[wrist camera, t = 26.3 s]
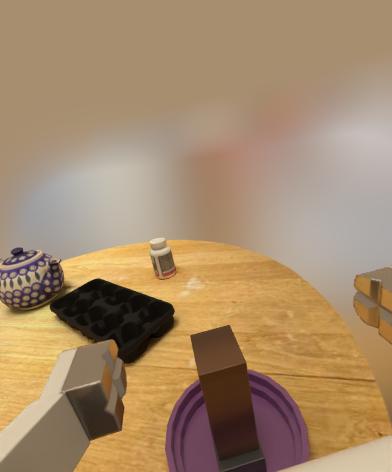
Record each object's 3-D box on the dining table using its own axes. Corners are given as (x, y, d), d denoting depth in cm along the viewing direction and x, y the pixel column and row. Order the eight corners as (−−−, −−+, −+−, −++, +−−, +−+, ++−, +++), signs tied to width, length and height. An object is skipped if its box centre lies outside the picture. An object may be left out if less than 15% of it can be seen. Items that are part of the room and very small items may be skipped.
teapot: (-18, 312, 66) (-47, 262, 61) (33, 281, 79) (13, 237, 74) (48, 322, 56) (20, 262, 51) (95, 284, 69) (76, 234, 64)
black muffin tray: (141, 373, 38) (134, 354, 37) (28, 335, 53) (21, 321, 51) (193, 303, 53) (190, 288, 51) (93, 288, 67) (89, 276, 66)
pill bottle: (178, 268, 69) (170, 235, 65) (172, 279, 64) (163, 243, 61) (160, 269, 70) (151, 237, 67) (153, 280, 65) (143, 245, 62)
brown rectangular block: (267, 471, 24) (252, 370, 20) (222, 485, 24) (197, 385, 19) (244, 407, 30) (229, 318, 26) (208, 417, 30) (187, 329, 26)
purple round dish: (323, 416, 28) (322, 397, 27) (283, 599, 18) (280, 579, 17) (214, 369, 37) (211, 353, 36) (144, 475, 26) (136, 457, 25)
